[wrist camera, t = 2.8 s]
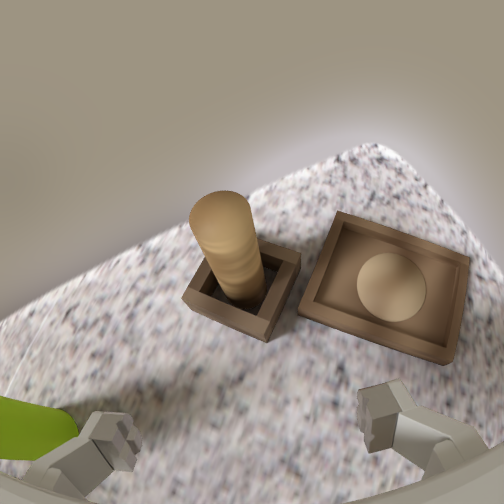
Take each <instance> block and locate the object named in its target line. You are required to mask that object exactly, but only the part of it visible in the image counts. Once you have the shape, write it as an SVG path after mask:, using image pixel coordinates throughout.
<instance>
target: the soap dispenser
mask: <svg viewBox="0 0 504 504" xmlns="http://www.w3.org/2000/svg"><path fill="white" fill-rule="evenodd" d="M78 436H79V432H78V428H77V426H76V423H75V422H74V420H73V419H72V417H71V416H70V415H69V414H68V413H66V412H65V411H63V410H60V409H55V408H50V407H45V406H40V405H36V404H31V403H27V402H22V401H18V400H14V399H10V398H7V397H3V396H0V459H8V460H32V461H35V460H37V459H39V458H40V457H42V456H44V455H46V454H47V453H49V452H51V451H52V450H54V449H56V448H57V447H59V446H61V445H62V444H64V443H66V442H67V441H69V440H71V439H72V438H74V437H78Z"/></svg>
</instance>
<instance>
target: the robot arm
mask: <svg viewBox="0 0 504 504" xmlns="http://www.w3.org/2000/svg"><path fill="white" fill-rule="evenodd" d="M357 399H358V402H359V405H358V406H357V421H358V425H359V428H360V431H361V432H363V433H364V442H365V445H366V448H367V451H368V453H373V452H377V451H381V450H385V449H389V448H392V449H393V450H395V451H396V452H398V453H399V454H401V455H402V456H403V457H405V458H406V459H408V460H409V461H411V462H412V463H414V464H415V465H417V466H418V467H420V468H421V469H423V470H424V471H425V472H424V475H423V477H422V480H421V481H418V482H415V483H413V484H410V485H407V486H404V487H401V488H398V489H395V490H392V491H388V492H385V493H382V494H378V495H375V496H371V497H367V498H364V499H360V500H356V501H351V502H347V503H342V504H504V441H503V442H501V443H500V444H498V445H496V446H494V447H493V448H491V449H488V447H487V446H486V444H485V443H484V441H483V440H482V438H481V437H480V435H479V434H478V432H477V431H476V430H475V428H474V427H472V426H470V425H467V424H465V423H462V422H460V421H457V420H455V419H452V418H450V417H447V416H445V415H442V414H440V413H438V412H435V411H433V410H430V409H428V408H426V407H423V406H418V407H417V405H416V404H415V402H414V400H413V399H412V397H411V396H410V394H409V392H408V391H407V389H406V387H405V386H404V384H403V383H402V381H401V380H400V379H396V380H392V381H389V382H385V383H382V384H379V385H375V386H371V387H367V388H363V389H359V390H358V392H357ZM133 422H134V420H133V418H132V416H131V415H130V414H128V413H117V412H101V411H94V412H92V414H91V416H90V417H89V419H88V421H87V422H86V424H85V426H84V427H83V429H82V431H81V433H80V434H79V436H78V437H74V438H72V439H71V440H69V441H67V442H66V443H64V444H62V445H61V446H59V447H57V448H56V449H54V450H52V451H51V452H49V453H47V454H46V455H44V456H42V457H40V458H39V459H37V460H35V461H34V462H33V463H32V465H31V467H30V468H29V470H28V471H27V473H26V475H25V476H24V478H23V480H19V479H17V478H14V477H12V476H9V475H7V474H5V473H3V472H0V504H98V503H93V502H89V501H88V500H87V499H86V498H85V497H86V496H87V495H88V494H89V493H90V492H91V491H92V490H93V489H95V488H96V487H97V486H98V485H99V484H100V483H101V482H102V481H103V480H105V479H106V478H107V477H108V476H109V475H110V474H111V473H112V472H113V470H117V471H127V472H133V470H134V467H135V464H136V461H137V458H136V456H135V455H136V454H137V453H138V452H140V450H141V447H142V436H141V433H140V431H139V429H138V428H137V427H135V426H134V425H133Z"/></svg>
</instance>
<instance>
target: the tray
mask: <svg viewBox="0 0 504 504" xmlns="http://www.w3.org/2000/svg"><path fill="white" fill-rule="evenodd" d="M469 259H470V258H469V257H467V256H464V255H462V254H459V253H457V252H454V251H452V250H449V249H446V248H444V247H441V246H439V245H436V244H433V243H431V242H428V241H425V240H422V239H420V238H417V237H414V236H411V235H409V234H406V233H403V232H400V231H397V230H394V229H392V228H389V227H386V226H383V225H380V224H377V223H374V222H371V221H368V220H365V219H362V218H359V217H356V216H353V215H350V214H347V213H343V212H340V211H337V213H336V215H335V218H334V221H333V223H332V226H331V228H330V231H329V234H328V236H327V239H326V241H325V244H324V246H323V249H322V251H321V254H320V256H319V259H318V261H317V264H316V266H315V268H314V271H313V273H312V276H311V278H310V280H309V283H308V285H307V288H306V290H305V292H304V295H303V297H302V299H301V302H300V304H299V306H298V315H299V316H302V317H304V318H307V319H310V320H312V321H315V322H318V323H321V324H323V325H326V326H329V327H331V328H334V329H337V330H340V331H342V332H345V333H348V334H351V335H354V336H356V337H359V338H362V339H365V340H368V341H371V342H373V343H376V344H379V345H382V346H385V347H388V348H391V349H394V350H397V351H400V352H403V353H406V354H409V355H412V356H415V357H418V358H421V359H424V360H427V361H430V362H433V363H436V364H439V365H442V366H444V365H447V364H449V363H451V362H453V359H454V355H455V350H456V346H457V341H458V336H459V331H460V326H461V320H462V315H463V308H464V302H465V295H466V287H467V279H468V270H469Z"/></svg>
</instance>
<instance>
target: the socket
mask: <svg viewBox="0 0 504 504" xmlns="http://www.w3.org/2000/svg"><path fill="white" fill-rule="evenodd" d="M257 242H258V246H259V251H260V256H261V261H262V265H263V267H264V268H267V269H270V270H273V271H275V272H278V273H277V275H276V277H275V279H274V281H273V283H272V285H271V287H270V290H269V292H268V294H267V296H266V298H265V300H264V302H263V304H262V306H261V308H260V310H259V312H258V314H257V316H255V315H253V314H250V313H248V312H245V311H243V310H240V309H238V308H236V307H233V306H231V305H229V304H226V303H224V302H221V301H219V300H217V299H214V298H212V297H211V296H212V295H213V293H214V291H215V289H216V287H217V285H218V284H219V282H218V280H217V278H216V276H215V275H214V273H213V271H212V269H211V267H210V265H209V263H208V261H207V259H206V257H205V258H204V259H203V261H202V263H201V265H200V266H199V268H198V270H197V272H196V273H195V275H194V277H193V278H192V280H191V282H190V284H189V285H188V287H187V289H186V291H185V292H184V294H183V296H182V298H181V299H182V300H183V301H184V302H185V303H186V304H187V305H188V307H189V308H190V309H191V310H193V311H195V312H197V313H199V314H201V315H204V316H206V317H208V318H210V319H212V320H215V321H217V322H219V323H221V324H224V325H226V326H228V327H230V328H233V329H235V330H237V331H239V332H242V333H244V334H246V335H249V336H251V337H253V338H256V339H258V340H261V341H263V342H265V343H267V342H268V340H269V338H270V335H271V333H272V331H273V329H274V327H275V325H276V323H277V320H278V318H279V316H280V314H281V312H282V310H283V307H284V305H285V303H286V301H287V298H288V296H289V294H290V292H291V290H292V287H293V285H294V283H295V281H296V278H297V276H298V274H299V272H300V269H301V253H299V252H296V251H293V250H290V249H287V248H284V247H281V246H278V245H275V244H272V243H269V242H266V241H263V240H260V239H257Z"/></svg>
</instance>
